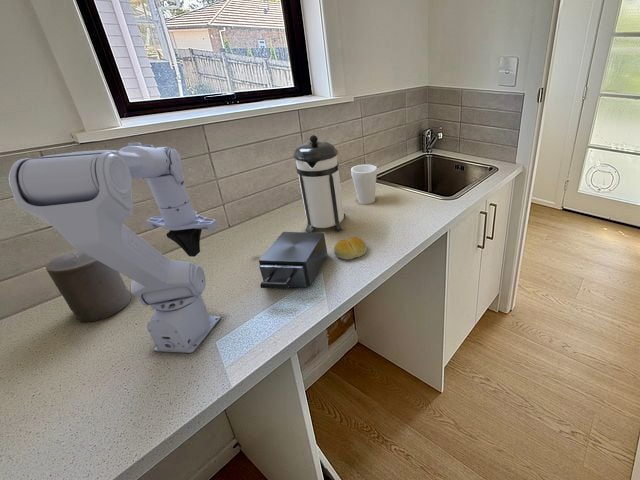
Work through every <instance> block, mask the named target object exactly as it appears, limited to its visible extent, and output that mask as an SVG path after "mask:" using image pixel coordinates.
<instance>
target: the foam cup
mask: <svg viewBox="0 0 640 480" xmlns="http://www.w3.org/2000/svg"><path fill="white" fill-rule="evenodd" d="M350 174H351V175H350V176H351V178H352V181H353V182H352V183H353V185H354V190H355V195H356V198H357V203H359V204H362V205H370V204H373V203H374V202H375V201H376V189H377V187H376V185H377V175H378V168H377V166H376V165H374V164H367V163H366V164H365V163H364V164H357V165H354V166H351V168H350Z"/></svg>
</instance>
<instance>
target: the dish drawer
mask: <svg viewBox="0 0 640 480" xmlns="http://www.w3.org/2000/svg"><path fill="white" fill-rule="evenodd" d="M259 271H260V275H261V278H262V281H261V282H260V285H259V287H260V288H261V289H276V290H277V289H278V290H279V289H280V290H288V289H289V287H290V288H307V287H306V286H307V284H308V283H307V278H306V273H305V268H304V265H303V264H301V265H288V264H276V263H268V264H261V265H260V264H259Z"/></svg>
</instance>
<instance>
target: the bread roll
mask: <svg viewBox="0 0 640 480" xmlns="http://www.w3.org/2000/svg"><path fill="white" fill-rule="evenodd" d="M365 242H366V241H364V239H363V238H361V237H357V236H352V237H350V238H349V239H341V240H339V241H338V242H336V243H335V245H334V248H333V253H334V255H335V256H336V257H337V258H339V259H342V260H353V259H355V258H360V257H362V256H363V255H365V254H366V253H367V251H368V249H367V247H366V243H365Z"/></svg>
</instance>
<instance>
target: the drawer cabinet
mask: <svg viewBox="0 0 640 480" xmlns="http://www.w3.org/2000/svg"><path fill="white" fill-rule="evenodd" d="M328 257H329V255H328V249H327V242H326V236H325V232H311V233H309V232H306V231H305V232H304V231H302V232H301V231H282V232H281V233H280V234H279V236H278V237H277V238H276V239H275V241H273V243H272V244H271V245H270V246H269V247H268V249H267V250H266V251H265V252H264V253H263V254H262V256H261V257H260V258H259V259H258V264H259V266H260V265H261V264H268V263H276V264H303V265H304V268H305V273H306V278H307V283H308V284H307V286H306V287H305V288H311V287H312V285H313V283H314V281H316V278H317V277H318V274H319V272H320V271H321V269H322V267H323V265H324V263H325V262H326V260H327V258H328Z"/></svg>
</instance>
